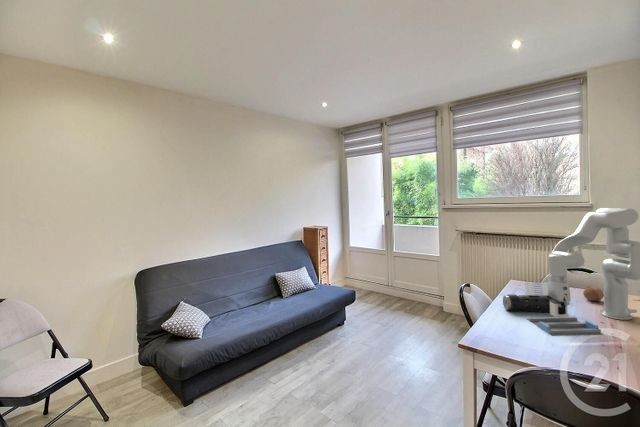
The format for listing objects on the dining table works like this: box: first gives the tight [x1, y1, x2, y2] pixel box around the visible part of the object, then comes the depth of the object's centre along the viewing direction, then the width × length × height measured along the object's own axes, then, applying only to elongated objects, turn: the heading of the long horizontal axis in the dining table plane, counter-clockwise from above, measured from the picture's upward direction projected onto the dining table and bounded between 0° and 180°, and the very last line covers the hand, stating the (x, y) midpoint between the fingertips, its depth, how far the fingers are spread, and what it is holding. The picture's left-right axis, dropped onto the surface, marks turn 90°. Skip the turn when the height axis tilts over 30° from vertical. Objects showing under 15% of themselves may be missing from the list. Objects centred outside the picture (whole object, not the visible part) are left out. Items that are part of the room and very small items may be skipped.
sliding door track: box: [526, 316, 605, 337], centre depth 154 cm, size 24×20×4 cm
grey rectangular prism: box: [549, 299, 569, 317], centre depth 158 cm, size 6×4×8 cm, turn 87°
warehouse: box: [524, 281, 549, 296], centre depth 198 cm, size 30×14×8 cm, turn 147°
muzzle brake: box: [502, 294, 550, 313], centre depth 175 cm, size 10×28×10 cm, turn 78°
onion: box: [582, 285, 604, 303], centre depth 189 cm, size 10×9×10 cm
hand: (558, 311), depth 158 cm, fingers closed on grey rectangular prism, 4 cm apart
